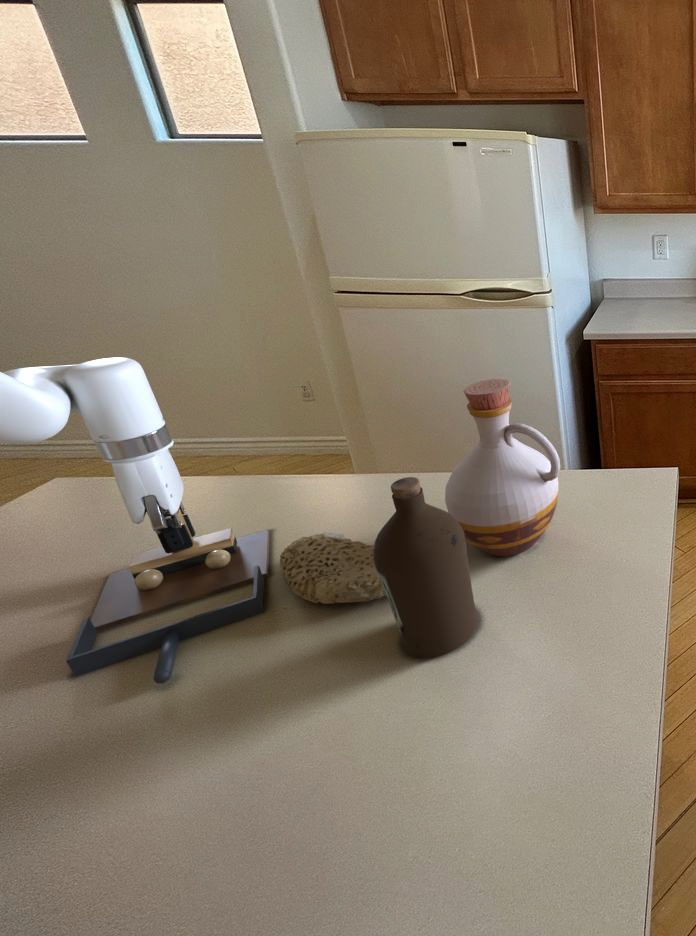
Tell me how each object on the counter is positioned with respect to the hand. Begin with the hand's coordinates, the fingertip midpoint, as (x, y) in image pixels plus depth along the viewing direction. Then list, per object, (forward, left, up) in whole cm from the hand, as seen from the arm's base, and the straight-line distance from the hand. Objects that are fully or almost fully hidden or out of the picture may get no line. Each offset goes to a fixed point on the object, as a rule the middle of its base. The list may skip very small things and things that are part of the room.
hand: (181, 543), depth 88 cm
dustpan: (0, -19, -5) cm, 20 cm away
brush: (0, 0, -4) cm, 4 cm away
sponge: (+20, -19, -5) cm, 28 cm away
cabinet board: (0, -3, -5) cm, 6 cm away
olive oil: (+30, -38, -5) cm, 48 cm away
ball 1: (-4, -4, -2) cm, 6 cm away
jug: (+45, -24, -5) cm, 51 cm away
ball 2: (+4, -4, -2) cm, 6 cm away
